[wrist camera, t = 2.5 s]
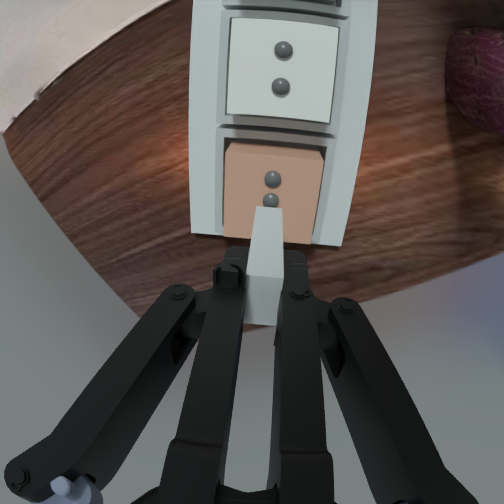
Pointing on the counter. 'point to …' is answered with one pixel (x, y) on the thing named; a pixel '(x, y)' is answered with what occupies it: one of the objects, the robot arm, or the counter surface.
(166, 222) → the counter surface
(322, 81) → the key two
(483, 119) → the vegetable
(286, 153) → the key three
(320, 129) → the console
